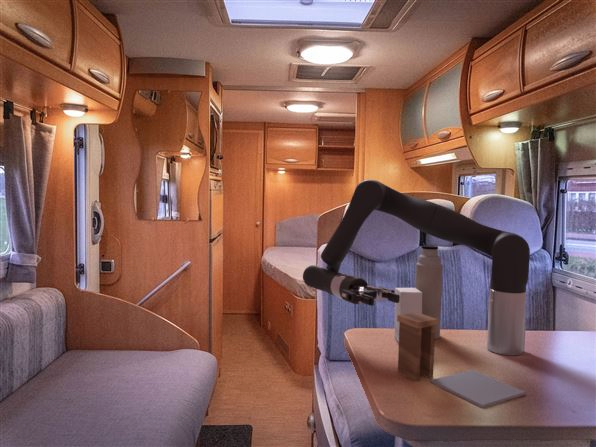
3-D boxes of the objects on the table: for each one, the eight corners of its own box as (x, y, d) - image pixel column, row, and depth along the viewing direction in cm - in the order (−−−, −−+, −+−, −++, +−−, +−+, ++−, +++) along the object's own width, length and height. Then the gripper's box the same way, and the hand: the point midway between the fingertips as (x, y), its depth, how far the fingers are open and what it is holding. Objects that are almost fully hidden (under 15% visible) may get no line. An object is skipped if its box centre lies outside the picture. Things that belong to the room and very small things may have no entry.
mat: (472, 372, 110) (472, 369, 110) (525, 394, 98) (525, 391, 98) (430, 382, 103) (430, 379, 103) (482, 407, 91) (482, 405, 91)
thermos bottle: (438, 332, 143) (442, 244, 141) (441, 340, 135) (445, 247, 133) (412, 330, 144) (416, 243, 143) (413, 338, 136) (417, 246, 135)
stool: (414, 367, 112) (417, 312, 111) (435, 377, 106) (438, 319, 105) (395, 372, 109) (397, 315, 108) (415, 382, 103) (417, 322, 102)
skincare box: (421, 346, 129) (423, 292, 128) (398, 345, 129) (400, 292, 128) (414, 337, 137) (416, 287, 136) (392, 336, 137) (394, 286, 136)
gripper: (329, 276, 127) (364, 288, 113) (369, 274, 134) (407, 284, 120) (328, 303, 127) (363, 317, 113) (368, 299, 134) (406, 312, 120)
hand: (386, 300), depth 116 cm, fingers open, 8 cm apart
